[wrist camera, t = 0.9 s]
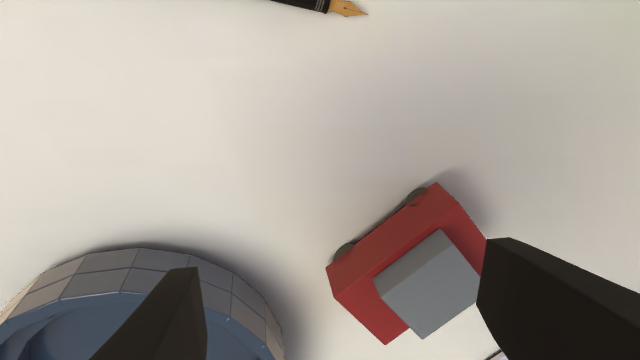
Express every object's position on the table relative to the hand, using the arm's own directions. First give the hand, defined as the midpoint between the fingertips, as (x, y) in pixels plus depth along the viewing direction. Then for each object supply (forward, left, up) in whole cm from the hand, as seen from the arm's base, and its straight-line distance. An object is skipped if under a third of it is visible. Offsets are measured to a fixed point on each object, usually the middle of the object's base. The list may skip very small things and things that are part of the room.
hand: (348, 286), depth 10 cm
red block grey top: (-7, -1, -10) cm, 12 cm away
